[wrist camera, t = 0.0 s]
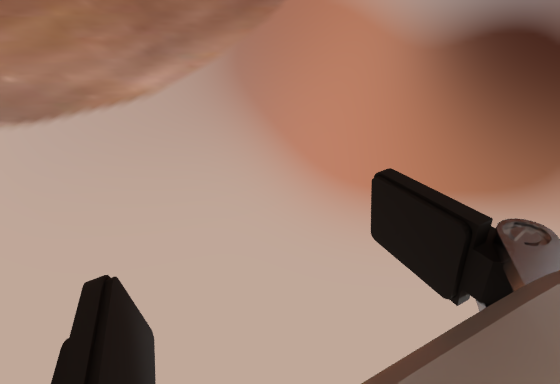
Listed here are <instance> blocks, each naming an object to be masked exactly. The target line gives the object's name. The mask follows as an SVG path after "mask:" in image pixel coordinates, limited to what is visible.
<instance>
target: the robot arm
mask: <svg viewBox="0 0 560 384" xmlns="http://www.w3.org/2000/svg"><path fill="white" fill-rule="evenodd" d="M371 196H372V197H371V234H372V237H373V238H374V240H375V241H377V242H378V243H379V244H380V245H381V246H383V247H384V248H385V249H386V250H387V251H388V252H390V253H391V254H392V255H393V256H394V257H396V258H397V259H398V260H399V261H400V262H401V263H403V264H404V265H405V266H406V267H407V268H409V269H410V270H411V271H412V272H413V273H415V274H416V275H417V276H418V277H419V278H420V279H422V280H423V281H424V282H425V283H426V284H428V285H429V286H430V287H431V288H432V289H433V290H435V291H436V292H437V293H438V294H440V295H441V296H442V297H443V298H445V299H450V300H451V301H452V302H453V303H454V304H456V305H457V306H458V305H460V304H461V303H463V302H465V301H467V300H468V299H469V297H470V295H471V296H472V297H473V298H475V299H476V302H477V305H478V308H479V311H480V312H479V313H477V314H475V315H473V316H472V317H470V318H468V319H467V320H465V321H463V322H462V323H460V324H458V325H457V326H455V327H454V328H452V329H450V330H449V331H447V332H445V333H444V334H442V335H440V336H439V337H437V338H435V339H434V340H432V341H430V342H429V343H427V344H426V345H424V346H422V347H420V348H419V349H417V350H416V351H414V352H412V353H411V354H409V355H407V356H406V357H404V358H402V359H401V360H399V361H398V362H396V363H395V364H393V365H391V366H389V367H388V368H386V369H385V370H383V371H381V372H379V373H378V374H376V375H375V376H373V377H371V378H370V379H368V380H366V381H365V382H363V383H362V384H560V239H559V238H558V236H557V235H556V234H555V233H554V232H553V231H552V230H550V229H549V228H547V227H545V226H544V225H541V224H539V223H536V222H533V221H529V220H524V219H506V220H502V221H501V222H499V223H498V225H497V227H496V229H495V228H494V227H492V226H491V223H492V218H490V217H488V216H486V215H484V214H482V213H480V212H478V211H476V210H474V209H472V208H470V207H468V206H466V205H464V204H462V203H460V202H458V201H456V200H454V199H452V198H450V197H448V196H446V195H444V194H442V193H440V192H438V191H436V190H434V189H432V188H430V187H428V186H426V185H424V184H422V183H420V182H418V181H415V180H413V179H411V178H409V177H407V176H405V175H403V174H401V173H399V172H397V171H395V170H393V169H386V170H383V171H381V172H378V173H376V174H375V176H374V178H373V179H372V195H371ZM51 384H155V353H154V336H153V333H152V330H151V328H150V327H149V325H148V324H147V322H146V321H145V319H144V318H143V316H142V314H141V313H140V312H139V310H138V308H137V307H136V305H135V304H134V302H133V301H132V299H131V298H130V296H129V295H128V293H127V291H126V290H125V288H124V287H123V285H122V284H121V282H120V281H119V280H118V278H117V277H113V278H110V277H109V276H108V275H104V276H101V277H99V278H96V279H93V280H91V281H88V282H86V283H84V285H83V288H82V292H81V296H80V299H79V303H78V307H77V311H76V315H75V318H74V322H73V326H72V330H71V334H70V337H69V338H68V339H67V340H66V341H65V342H64V343H63V345H62V347H61V350H60V354H59V357H58V361H57V365H56V368H55V371H54V375H53V378H52V382H51Z"/></svg>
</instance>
